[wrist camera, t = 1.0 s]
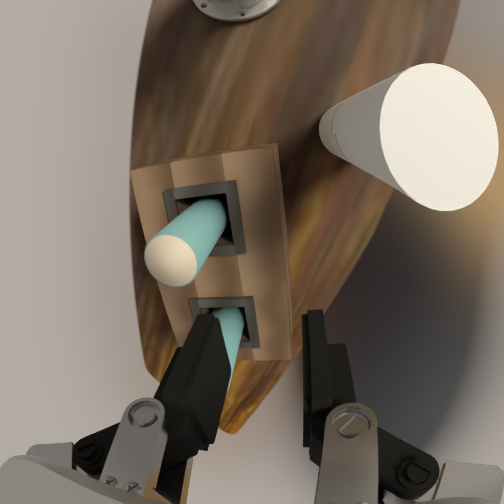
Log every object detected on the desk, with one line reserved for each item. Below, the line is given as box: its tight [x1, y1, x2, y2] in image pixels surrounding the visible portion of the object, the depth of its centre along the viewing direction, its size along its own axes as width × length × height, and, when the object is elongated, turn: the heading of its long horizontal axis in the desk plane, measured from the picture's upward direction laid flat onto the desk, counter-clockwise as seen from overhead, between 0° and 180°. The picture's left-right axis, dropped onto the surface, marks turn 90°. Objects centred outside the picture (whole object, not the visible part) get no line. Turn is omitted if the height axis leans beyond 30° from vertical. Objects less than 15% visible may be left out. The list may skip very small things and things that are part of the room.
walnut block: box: [130, 143, 292, 360], centre depth 35 cm, size 14×24×12 cm, turn 7°
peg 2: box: [211, 307, 246, 391], centre depth 29 cm, size 4×4×12 cm
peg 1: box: [144, 194, 230, 287], centre depth 24 cm, size 4×4×12 cm
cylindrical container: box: [319, 63, 498, 211], centre depth 21 cm, size 7×7×25 cm
